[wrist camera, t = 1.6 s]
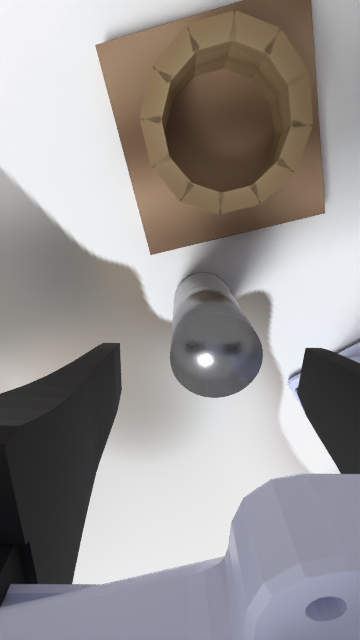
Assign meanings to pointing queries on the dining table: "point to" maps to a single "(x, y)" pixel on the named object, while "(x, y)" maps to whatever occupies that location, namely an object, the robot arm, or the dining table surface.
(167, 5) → the dining table surface
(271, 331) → the dining table surface
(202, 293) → the steel pin
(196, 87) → the socket block
